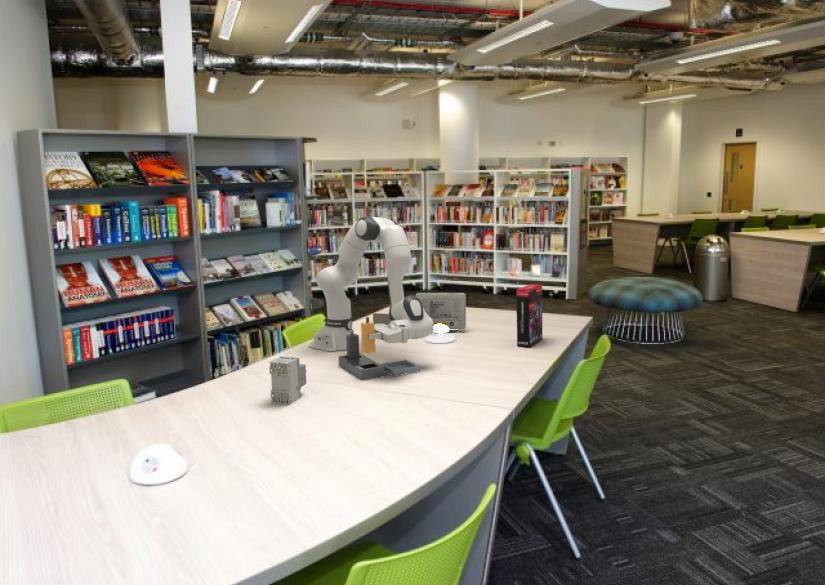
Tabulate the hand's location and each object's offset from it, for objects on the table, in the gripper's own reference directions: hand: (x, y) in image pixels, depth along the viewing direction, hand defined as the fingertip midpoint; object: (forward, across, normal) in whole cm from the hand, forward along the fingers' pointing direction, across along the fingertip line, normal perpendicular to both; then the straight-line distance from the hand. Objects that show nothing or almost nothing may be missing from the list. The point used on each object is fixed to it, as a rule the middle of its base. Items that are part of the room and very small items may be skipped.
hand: (366, 335), depth 257 cm
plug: (-1, 0, +7) cm, 7 cm away
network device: (-64, -48, +17) cm, 82 cm away
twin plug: (-1, -16, +15) cm, 22 cm away
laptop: (-40, -54, +17) cm, 69 cm away
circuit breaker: (+35, +8, +17) cm, 40 cm away
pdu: (-1, -8, +17) cm, 19 cm away
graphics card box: (-87, -6, +17) cm, 89 cm away
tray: (-15, 0, +17) cm, 22 cm away
